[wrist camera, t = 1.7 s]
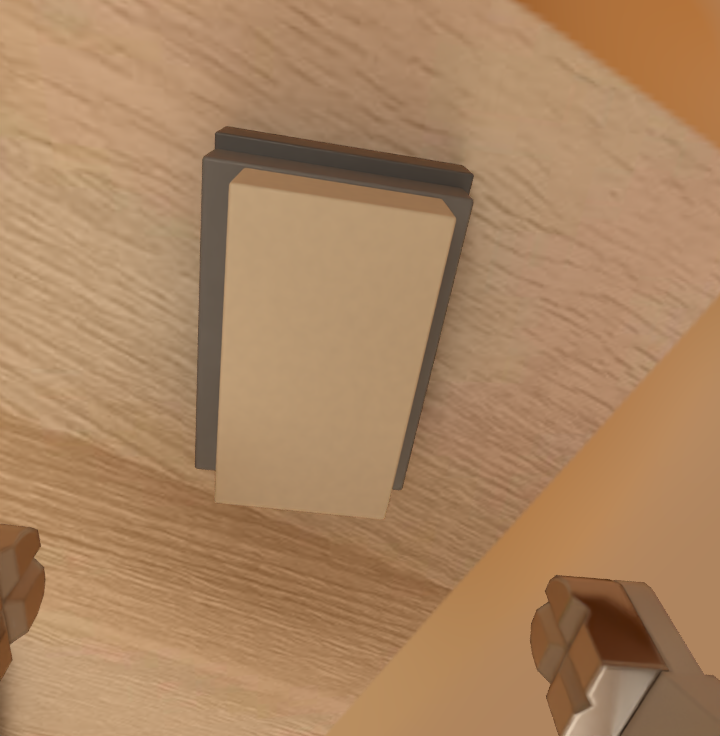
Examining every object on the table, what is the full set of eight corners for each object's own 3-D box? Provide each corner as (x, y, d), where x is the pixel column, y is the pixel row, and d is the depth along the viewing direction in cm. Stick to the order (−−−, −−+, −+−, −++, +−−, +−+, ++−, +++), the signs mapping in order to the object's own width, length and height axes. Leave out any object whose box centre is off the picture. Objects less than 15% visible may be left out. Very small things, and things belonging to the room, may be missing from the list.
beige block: (243, 166, 14) (228, 182, 12) (443, 198, 14) (457, 217, 12) (226, 460, 18) (213, 504, 16) (381, 477, 18) (385, 521, 17)
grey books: (225, 125, 16) (201, 137, 13) (464, 165, 17) (487, 184, 14) (213, 417, 21) (194, 469, 18) (400, 439, 21) (408, 492, 19)
